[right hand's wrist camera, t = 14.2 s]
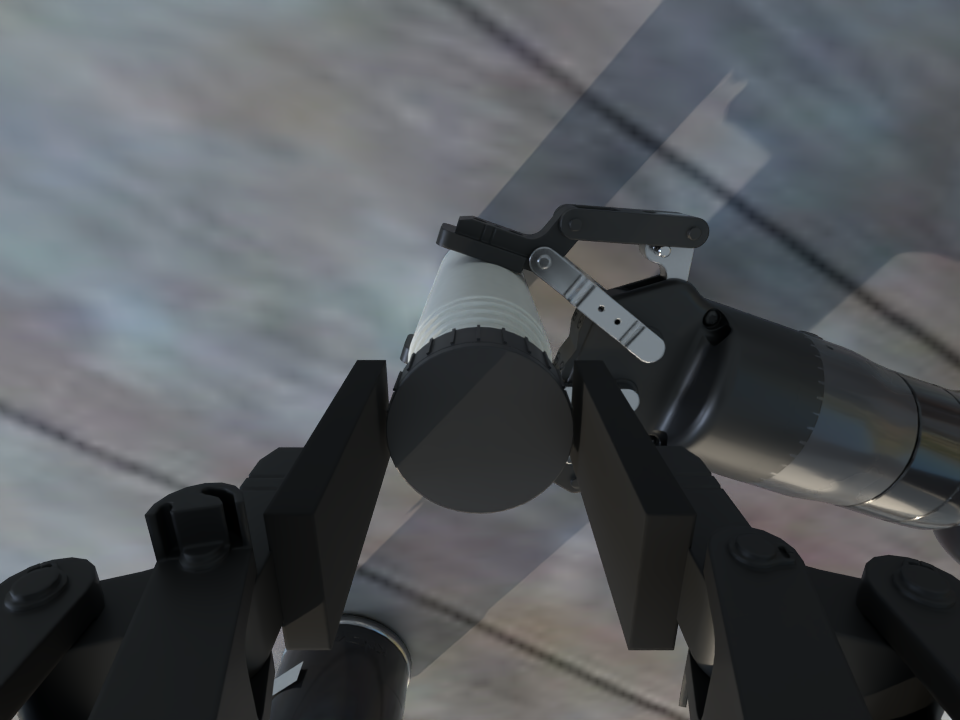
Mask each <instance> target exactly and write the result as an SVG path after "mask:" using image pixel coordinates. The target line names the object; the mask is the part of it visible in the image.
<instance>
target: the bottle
mask: <svg viewBox="0 0 960 720" xmlns="http://www.w3.org/2000/svg"><path fill="white" fill-rule="evenodd" d="M477 325H480V327H492V328H497V329H502V327H503V328H505V330H506V331H509V332H512V333H515V334H517V335H519V336H521V337H523V338H524V337H525V336H526V337H528V340H529V341H530V342H531V343H533V344H534V345H535V346H537V347H538V348H539V349H540V350H541V351H542V352H543V351H545V352H546V353H547V355H548V358H549V359H550V361H551V362H552V353H551V348H550V344H549V341H548V338H547V336H546V333H545V330H544V328H543V325H542V322H541V320H540V317H539V314H538V312H537V309H536V306H535V304H534V301H533V299H532V296H531V293H530V291H529V288H528V285H527V283H526V280H525V277H524V275H523V272H522V273H521V274H520V273H517V272H514V271H511V270H508V269H505V268H503V267H501V266H498V265H494V264H491V263H488V262H485V261H482V260H479V259H476V258H473V257H470V256H467V255H465V254H462V253H459V252H456V251H453V250H450V251H449V252H448V253H447V254H446V256H445V257H444V259H443V261H442V263H441V265H440V268H439V270H438V273H437V276H436V278H435V281H434V284H433V286H432V289H431V292H430V294H429V297H428V299H427V302H426V305H425V307H424V310H423V313H422V315H421V318H420V320H419V323H418V326H417V328H416V331H415V334H414V336H413V339H412V342H411V344H410V349H409V353H408V362H409V361H410V358H411V355H412V354H413V353H415V354H416V352H417V351H419V350H420V349H421V348H422V347H423V346H424V345H426V344H427V343H429V341H430V339H431V338H433V339H435V338H437V337H439V336H441V335H443V334H445V333H448V332H451V331H452V329H453V328H455V329H456V330H458V329H463V328H468V327H477Z"/></svg>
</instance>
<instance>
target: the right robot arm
mask: <svg viewBox="0 0 960 720" xmlns="http://www.w3.org/2000/svg"><path fill="white" fill-rule="evenodd" d="M571 404H572V407H573V411H572V414H573V420H574V438H573V445H572V449H571V452H570V458H571V462H572V465H573V468H574V472H575V475H576V478H577V482H578V485H579V488H580V491H581V495H582V498H583V501H584V505H585V508H586V511H587V515H588V518H589V521H590V524H591V528H592V531H593V534H594V538H595V541H596V544H597V548H598V551H599V554H600V557H601V561H602V564H603V567H604V571H605V574H606V577H607V580H608V584H609V587H610V590H611V594H612V597H613V600H614V604H615V607H616V610H617V613H618V617H619V620H620V623H621V627H622V630H623V633H624V637H625V640H626V643H627V646H628V650H674V646H675V640H676V635H677V629H678V624H679V626H680V629H681V631H682V633H683V636H684V638H685V640H686V643H687V645H688V647H689V650H688V655H687V660H686V666H685V671H684V677H683V682H682V688H681V693H680V700H679V706H682V707H686V705H687V699H688V703H689V712H690V720H942V719H941V718H942V716H943V713H944V711H945V712H946V713H947V714H948V715H949V717H950V718H951V719H952V720H960V581H959V580H958V579H957V578H955V577H954V576H952V575H951V574H949V573H947V572H945V571H943V570H940V569H938V568H936V567H935V566H933V565H931V564H928V563H925V562H923V561H918V560H916V559H912V558H908V557H901V556H893V555H885V556H879V557H874V558H872V559H871V560H870V561H869V562H867V563H866V565H865V568H864V571H863V575H862V578H856V577H851V576H847V575H842V574H837V573H833V572H828V571H823V570H819V569H815V568H812V567H808V566H805V564H804V561H803V560H802V559H801V557H800V556H799V554H798V553H797V552H796V550H795V549H794V548H793V547H791V546H790V545H789V544H787V543H786V542H785V541H783V540H782V539H781V538H778V537H776V536H774V535H772V534H770V533H768V532H766V531H763V530H759V529H755V528H752V527H751V526H750V525H749V523H748V522H747V521H746V519H745V518H744V517H743V515H742V514H741V513H740V511H739V510H738V509H737V507H736V506H735V504H734V503H733V502H732V500H731V499H730V498H729V496H728V495H727V494H726V492H725V491H724V490H723V489H721V488H720V484H719V483H718V481H717V480H716V479H715V477H714V476H711V472H710V471H709V469H708V468H707V467H706V465H705V464H704V463H703V461H702V460H701V458H699V457H698V456H696V455H695V454H693V453H692V452H690V451H689V450H687V449H686V448H684V447H683V446H655V445H654V443H653V441H652V440H651V438H650V437H649V435H648V433H647V432H646V430H645V428H644V427H643V425H642V423H641V422H640V420H639V419H638V417H637V415H636V414H635V412H634V410H633V409H632V407H631V406H630V404H629V402H628V401H627V399H626V397H625V396H624V394H623V392H622V391H621V389H620V388H619V386H618V384H617V383H616V381H615V379H614V378H613V376H612V375H611V373H610V371H609V370H608V368H607V366H606V365H605V363H604V361H603V360H574V369H573V384H572V399H571ZM388 405H389V399H388V384H387V369H386V360H357V361H356V363H355V365H354V366H353V368H352V370H351V371H350V373H349V375H348V376H347V378H346V379H345V381H344V383H343V384H342V386H341V388H340V389H339V391H338V392H337V394H336V396H335V397H334V399H333V401H332V402H331V404H330V406H329V407H328V409H327V410H326V412H325V414H324V415H323V417H322V419H321V420H320V422H319V423H318V425H317V427H316V428H315V430H314V432H313V433H312V435H311V437H310V438H309V440H308V441H307V443H306V445H305V446H304V447H279V448H277V449H276V450H274V451H273V452H271V453H270V454H268V455H267V456H265V457H264V458H262V459H261V460H260V461H259V462H258V463H257V465H256V466H255V467H254V469H253V470H252V471H251V473H250V474H249V478H246V480H245V481H244V482H243V484H242V485H241V486H240V489H238V488H237V487H236V486H234V485H230V484H225V483H204V484H199V485H194V486H190V487H186V488H183V489H181V490H179V491H176V492H174V493H171V494H169V495H167V496H166V497H164V498H163V499H161V500H160V501H158V502H157V503H155V504H154V505H153V506H152V507H151V508H150V509H149V511H148V512H147V513H146V514H145V518H146V522H147V526H148V530H149V533H150V537H151V541H152V545H153V549H154V552H155V556H156V560H157V562H156V565H155V567H154V568H153V569H150V570H146V571H143V572H138V573H134V574H129V575H124V576H120V577H115V578H110V579H106V580H101V581H99V578H98V575H97V571H96V568H95V566H94V565H93V564H92V563H90V562H89V561H88V560H86V559H80V558H73V557H71V558H63V559H55V560H51V561H47V562H43V563H41V564H40V563H39V564H37V565H34V566H31V567H29V568H27V569H25V570H23V571H21V572H19V573H17V574H15V575H13V576H11V577H9V578H8V579H6V580H5V581H4V582H2V583H1V584H0V720H12V718H13V717H14V716H15V715H16V713H17V716H18V718H19V720H270V713H271V704H272V695H273V686H274V677H275V668H274V661H273V655H272V648H273V645H274V643H275V641H276V638H277V636H278V634H279V631H280V629H281V627H282V629H283V635H284V640H285V646H286V650H332V646H333V643H334V640H335V637H336V633H337V630H338V627H339V623H340V620H341V617H342V613H343V610H344V607H345V604H346V600H347V597H348V594H349V590H350V587H351V584H352V580H353V577H354V574H355V571H356V567H357V564H358V561H359V557H360V554H361V551H362V547H363V544H364V541H365V538H366V534H367V531H368V528H369V524H370V521H371V518H372V515H373V511H374V508H375V505H376V501H377V498H378V495H379V491H380V488H381V485H382V482H383V478H384V475H385V472H386V468H387V465H388V462H389V458H390V452H389V449H388V446H387V439H386V420H387V413H386V412H387V408H388Z"/></svg>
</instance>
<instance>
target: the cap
mask: <svg viewBox="0 0 960 720" xmlns="http://www.w3.org/2000/svg"><path fill="white" fill-rule="evenodd" d="M565 388H566V387H565V384H564V381H563V379H562V376H561V373H560V371H559V369H557V370H556V368H555V367H554V365H553V364H552V362H551V361H550V359H549V358H548V355H547V353H546V352H545V351H543V352H542V351H541V350H540V349H539V348H538V347H537V346H535V345H534V344H533V343H531V342H530V341H529V340H528V337H526V336H525V337H524V338H523V337H521V336H519V335H517V334H515V333H512V332H509V331H506V330H505V328H503V327H502V329H497V328H492V327H480V325H477V327H468V328H463V329H458V330H456V329H455V328H453V329H452V331H451V332H448V333H445V334H443V335H441V336H439V337H437V338H435V339H433V338H431V339H430V341H429V343H427V344H426V345H424V346H423V347H422V348H421V349H420V350H419V351H417V352H416V354H415V353H413V354H412V355H411V358H410V361H409V362H408V364H407V365H406V367H405V368H404V370H403V372H401V371H400V373H399V375H398V378H397V381H396V383H395V386H394V388H393V391H395V392H393V395H392V397H391V400H390V403H389V405H388V408H387V412H386V413H387V420H386V439H387V446H388V449H389V452H390V456H391V458H392V460H393V462H394V465H395V467H396V468H397V470H398V471H399V473H400V474H401V476H402V477H403V478H404V480H405V481H406V482H407V483H408V484H409V485H410V486H411V487H412V488H413V489H414V490H415V491H416V492H418V493H419V494H421V495H422V496H423V497H425V498H426V499H428V500H430V501H432V502H434V503H435V504H438V505H440V506H443V507H445V508H448V509H452V510H455V511H460V512H466V513H480V514H481V513H494V512H500V511H505V510H508V509H512V508H515V507H517V506H520V505H522V504H525V503H527V502H528V501H530V500H532V499H534V498H535V497H537V496H538V495H539V494H541V493H542V492H544V491H545V490H546V489H547V488H548V487H549V486H550V485H551V484H552V483H553V482H554V481H555V479H556V478H557V477H558V476H559V474H560V473H561V471H562V470H563V468H564V466H565V465H566V462H567V460H568V458H569V456H570V452H571V449H572V445H573V438H574V420H573V414H572V411H573V407H572V404H571V402H570V399H569V396H568V394H567V391H566V390H564V389H565Z"/></svg>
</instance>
